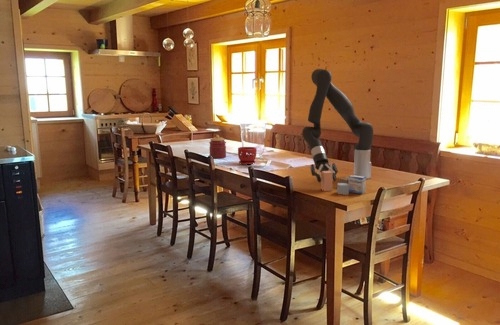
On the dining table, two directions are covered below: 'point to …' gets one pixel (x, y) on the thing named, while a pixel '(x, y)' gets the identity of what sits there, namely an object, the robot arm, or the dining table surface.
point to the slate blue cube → (343, 188)
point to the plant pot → (247, 155)
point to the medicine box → (357, 184)
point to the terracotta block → (326, 180)
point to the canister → (217, 147)
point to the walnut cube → (344, 180)
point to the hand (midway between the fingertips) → (327, 180)
